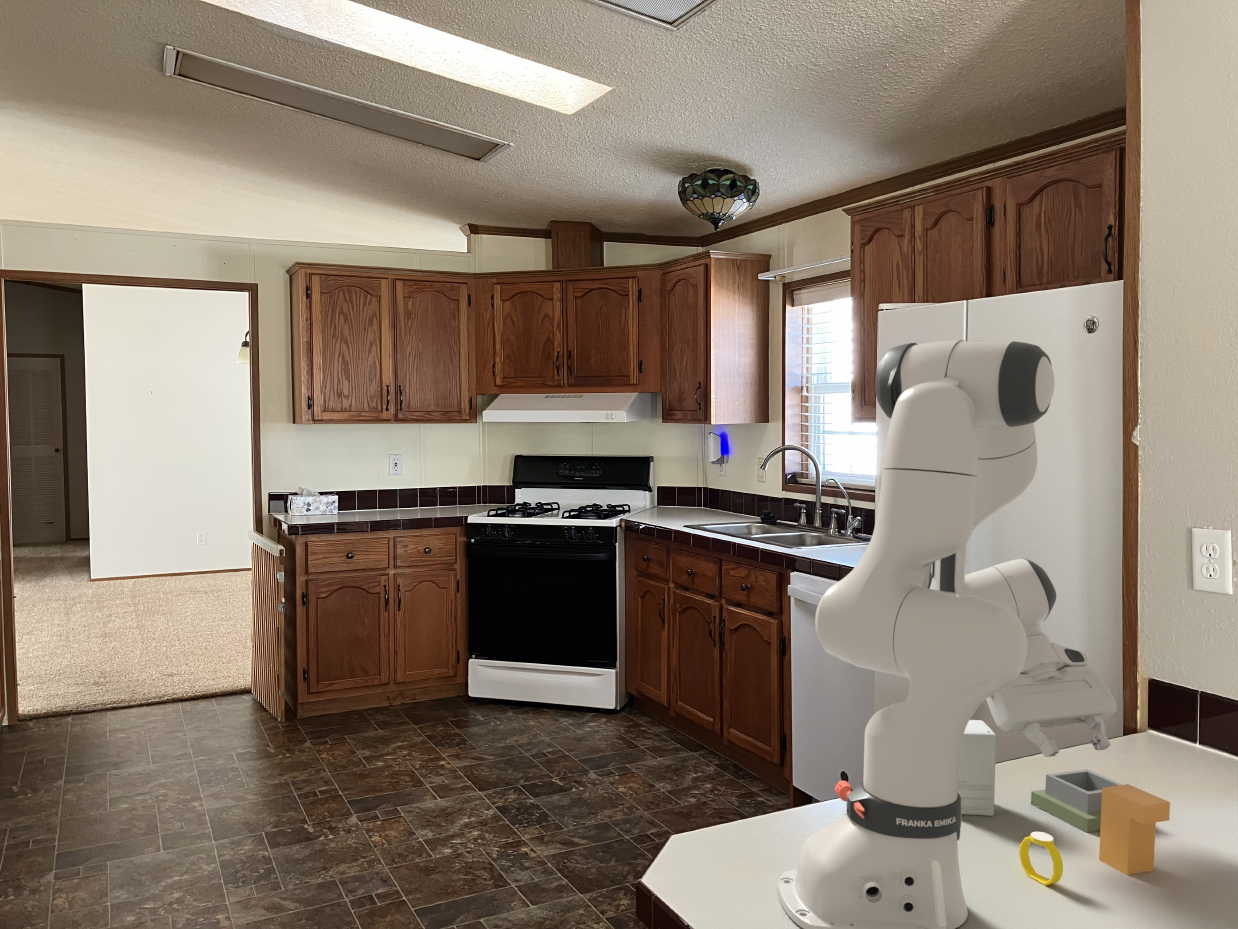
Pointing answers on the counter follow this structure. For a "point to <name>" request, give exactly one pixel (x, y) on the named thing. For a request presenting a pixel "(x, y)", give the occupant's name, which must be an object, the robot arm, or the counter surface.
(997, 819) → the counter surface
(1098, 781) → the grey-rimmed base plate
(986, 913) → the counter surface
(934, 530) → the robot arm
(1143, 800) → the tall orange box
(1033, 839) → the watch
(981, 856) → the counter surface
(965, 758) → the supplement box
